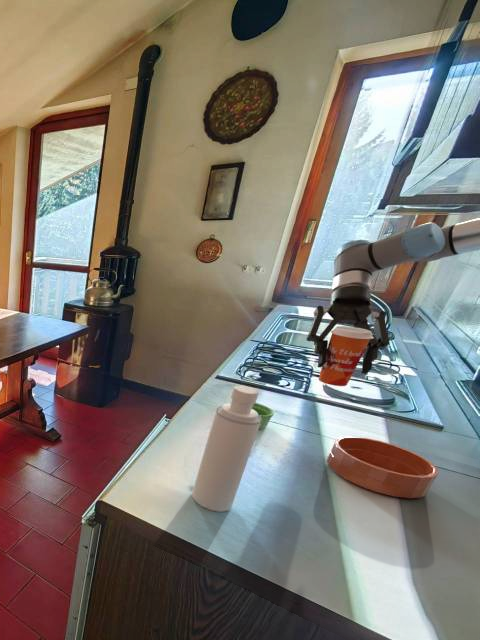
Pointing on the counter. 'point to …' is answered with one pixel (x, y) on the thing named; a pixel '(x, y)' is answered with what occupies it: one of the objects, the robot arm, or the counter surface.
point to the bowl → (382, 467)
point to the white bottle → (227, 451)
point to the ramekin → (263, 414)
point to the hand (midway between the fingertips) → (343, 367)
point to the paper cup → (344, 354)
